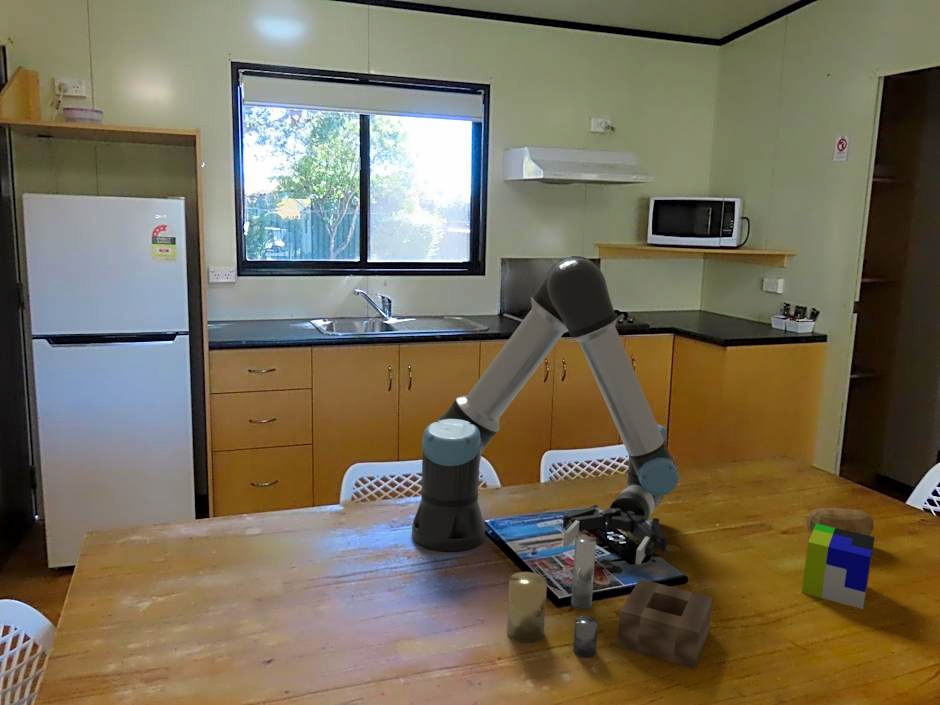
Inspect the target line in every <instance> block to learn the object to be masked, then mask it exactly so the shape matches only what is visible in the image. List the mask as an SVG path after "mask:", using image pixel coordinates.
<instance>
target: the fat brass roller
mask: <svg viewBox="0 0 940 705" xmlns="http://www.w3.org/2000/svg"><path fill="white" fill-rule="evenodd" d="M547 586H548V581H547V579H546V578H545V577H544V576H543V575H541V574H538V573H537V572H536V573H535V572H530V571H521V572H515V573H514V574H512V575H510V576H509V579H508V593H507V594H508V596H507V597H508V598H507V599H508V600H507V615H506V616H507V617H506V634H507V636H508V637H509V639H511V640H513V641H515V642H517V643H522V644H533V643H534V644H535V643H537V642H540V641H541V640H543V638H544V636H545V624H546V623H545V621H546V605H547V590H548V589H547Z"/></svg>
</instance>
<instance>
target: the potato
mask: <svg viewBox="0 0 940 705" xmlns="http://www.w3.org/2000/svg"><path fill="white" fill-rule="evenodd" d="M816 524H820V525H824V526H829V527H833V528H837V529H842V530H846V531H850V532H855V533H859V534H863V535H868V536H871V534H872V533H873V531H874V528H875V527H874V526H875V523H874V519H873V517H872V516H871V515H870V514H868V513H866V512H865V511H862V510H859V509H856V508H855V509H853V508H851V509H849V508H840V507H828V508H827V507H825V508H823V507H820V508H815V509H812V510H811V511H810V512H809V513H808V515H807V519H806V526H807V530H808V532H810V535H811V534H812V532H813V530H814V527H815V525H816Z"/></svg>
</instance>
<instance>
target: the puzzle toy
mask: <svg viewBox="0 0 940 705" xmlns="http://www.w3.org/2000/svg"><path fill="white" fill-rule="evenodd" d="M874 545H875V536H871V535H869V536H868V535H863V534H859V533H855V532H850V531H846V530H842V529H837V528H833V527H829V526H824V525H820V524H816V525H815V527H814V530H813V532H812V534H811V533H810V536H809V539H808V542H807V548H806V554H805V555H806V556H805V557H806V558H805V562H804V563H805V565H804V571H803V572H804V573H803V580H802V587H801V593H802V594H805V593H806V595H809V596H812V595H813V597H817V598H819V599H823V600H827V601H830V600H831V602H834V601H835V602H834V603H837V604H841V605H842V604H843V605H845V604H846V606H848V605H850V606H849V607H852V606H853V608H856V607H857V609H859V608H860V610H863V609H864V605H865V601H866V600H865V599H866V595H867V592H868V591H867V589H868V585H869V578H870V572H871V564H872V557H873V550H874Z"/></svg>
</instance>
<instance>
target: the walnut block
mask: <svg viewBox="0 0 940 705" xmlns="http://www.w3.org/2000/svg"><path fill="white" fill-rule="evenodd" d="M713 599H714V598H713V597H712V596H708V595H705V594H704V595H703V594H700V593H698V592H697V593H696V592H693V591H689V590H685V589H681V588H677V587H673V586H669V585H667V584H661V583H658V582H654V581H650V580H646V579H641V578H640V579H638V581H637V583H636V584H635V586H634V587H633V589H632V591H631V592H630V593H629V595H628V597H627V599H626V600H625V602H624V603H623V605H622V606H621V608H620V610H619V620H618V630H617V640H616V646H617V647H620V648H622V649H627V650H630V651H633V652H637V653H640V654H643V655H647V656H650V657H653V658H656V659H659V660H663V661H667V662H668V663H669V662H670V663H673V664H677V665H680V666H683V667H686V668H689V669H692V670H696V667H697V664H698V662H699V659H700V656H701V654H702V651H703V648H704V645H705V644H706V640H707V638H708V635H709V633H710V626H711V616H712V608H713Z"/></svg>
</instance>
